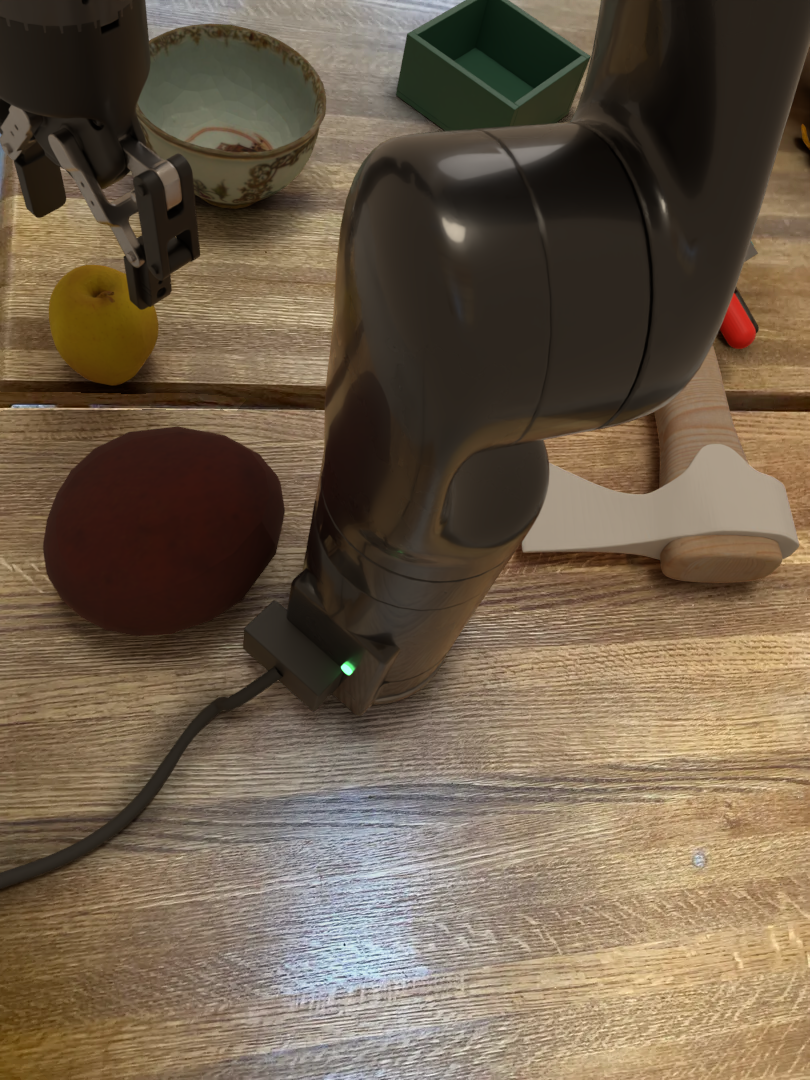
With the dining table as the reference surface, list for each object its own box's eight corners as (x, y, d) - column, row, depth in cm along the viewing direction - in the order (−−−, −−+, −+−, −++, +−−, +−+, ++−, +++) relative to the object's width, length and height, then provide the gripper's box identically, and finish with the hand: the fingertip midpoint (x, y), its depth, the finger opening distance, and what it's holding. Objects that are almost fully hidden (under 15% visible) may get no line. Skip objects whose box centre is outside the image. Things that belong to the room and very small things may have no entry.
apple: (155, 410, 55) (144, 328, 48) (51, 399, 54) (25, 313, 47) (168, 333, 58) (160, 245, 51) (70, 321, 57) (48, 230, 50)
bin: (495, 168, 72) (514, 109, 67) (395, 95, 74) (406, 33, 69) (568, 113, 77) (591, 56, 72) (472, 46, 79) (488, -14, 74)
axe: (730, 208, 66) (821, 554, 52) (705, 259, 71) (782, 590, 57) (501, 197, 65) (531, 547, 51) (491, 249, 70) (516, 584, 56)
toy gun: (646, 214, 61) (709, 170, 59) (699, 283, 71) (755, 248, 68) (700, 319, 57) (770, 277, 55) (749, 378, 67) (811, 344, 64)
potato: (68, 659, 39) (99, 681, 49) (332, 548, 43) (311, 589, 52) (-20, 445, 40) (27, 508, 50) (241, 356, 44) (237, 431, 54)
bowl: (334, 147, 69) (345, 54, 62) (295, 265, 63) (303, 176, 56) (167, 101, 68) (159, 1, 61) (110, 216, 62) (95, 119, 55)
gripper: (-157, -110, 34) (-42, 209, 48) (88, 95, 31) (132, 367, 46) (6, -161, 37) (68, 152, 51) (239, 21, 35) (236, 296, 49)
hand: (98, 253), depth 48 cm, fingers open, 8 cm apart
